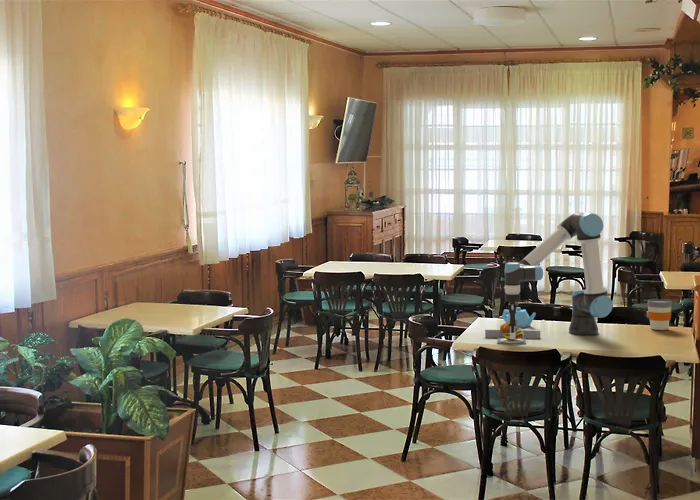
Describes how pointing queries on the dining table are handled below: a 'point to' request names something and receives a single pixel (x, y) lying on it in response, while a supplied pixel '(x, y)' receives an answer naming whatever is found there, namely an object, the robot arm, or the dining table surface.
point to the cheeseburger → (506, 331)
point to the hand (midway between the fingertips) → (512, 337)
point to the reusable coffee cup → (659, 314)
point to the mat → (511, 341)
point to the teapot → (520, 317)
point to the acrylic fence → (499, 335)
